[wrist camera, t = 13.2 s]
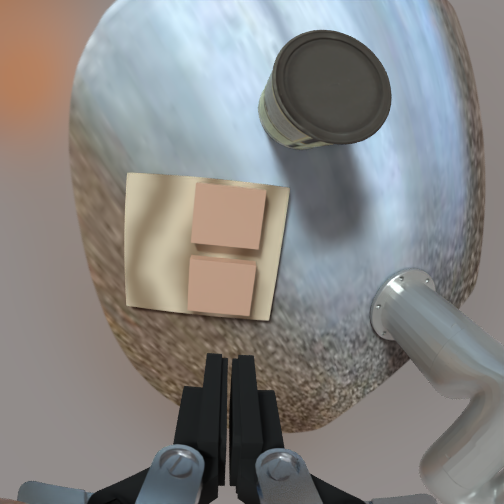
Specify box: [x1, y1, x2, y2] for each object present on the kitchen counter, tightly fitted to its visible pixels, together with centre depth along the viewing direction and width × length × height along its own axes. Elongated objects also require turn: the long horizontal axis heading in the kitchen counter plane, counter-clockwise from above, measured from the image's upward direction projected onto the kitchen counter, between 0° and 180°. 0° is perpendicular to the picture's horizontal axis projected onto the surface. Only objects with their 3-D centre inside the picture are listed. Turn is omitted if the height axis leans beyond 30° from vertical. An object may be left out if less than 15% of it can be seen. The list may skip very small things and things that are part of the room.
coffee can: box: [258, 30, 391, 150], centre depth 26 cm, size 10×10×14 cm
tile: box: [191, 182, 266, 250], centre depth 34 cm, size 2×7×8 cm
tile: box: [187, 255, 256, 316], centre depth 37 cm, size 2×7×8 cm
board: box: [125, 173, 290, 320], centre depth 37 cm, size 20×18×1 cm
